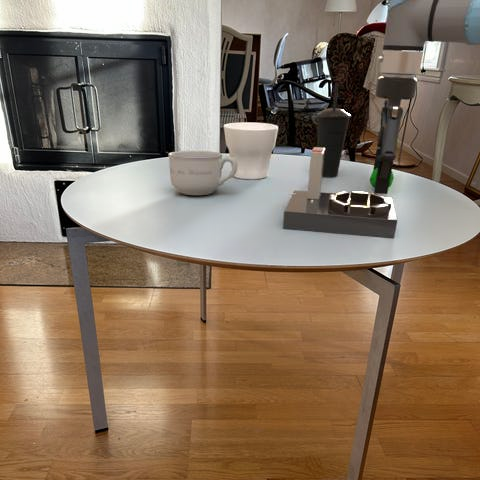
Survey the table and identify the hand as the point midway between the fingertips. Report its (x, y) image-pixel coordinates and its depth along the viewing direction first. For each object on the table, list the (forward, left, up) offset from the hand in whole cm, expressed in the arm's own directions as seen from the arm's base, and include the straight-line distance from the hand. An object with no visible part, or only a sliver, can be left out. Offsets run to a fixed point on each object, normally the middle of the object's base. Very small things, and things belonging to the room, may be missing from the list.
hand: (379, 185), depth 104 cm
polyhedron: (0, 0, -1) cm, 1 cm away
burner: (+5, +27, +2) cm, 28 cm away
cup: (+30, -5, -1) cm, 30 cm away
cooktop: (+8, +25, -1) cm, 26 cm away
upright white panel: (+13, +21, +2) cm, 25 cm away
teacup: (+36, +14, -1) cm, 38 cm away
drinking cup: (+12, -11, -1) cm, 16 cm away
